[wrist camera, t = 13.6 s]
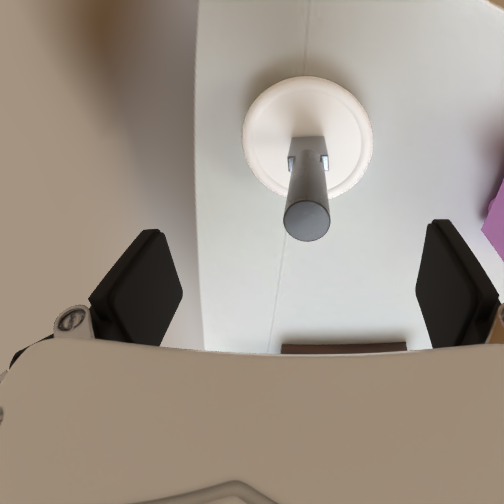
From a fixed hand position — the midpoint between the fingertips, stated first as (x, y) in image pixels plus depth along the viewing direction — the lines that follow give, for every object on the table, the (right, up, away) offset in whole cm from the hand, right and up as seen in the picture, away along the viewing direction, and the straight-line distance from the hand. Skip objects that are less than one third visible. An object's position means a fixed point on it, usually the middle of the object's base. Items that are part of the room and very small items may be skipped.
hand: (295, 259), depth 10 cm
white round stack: (+3, +10, +14) cm, 18 cm away
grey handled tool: (+3, +8, +11) cm, 14 cm away
